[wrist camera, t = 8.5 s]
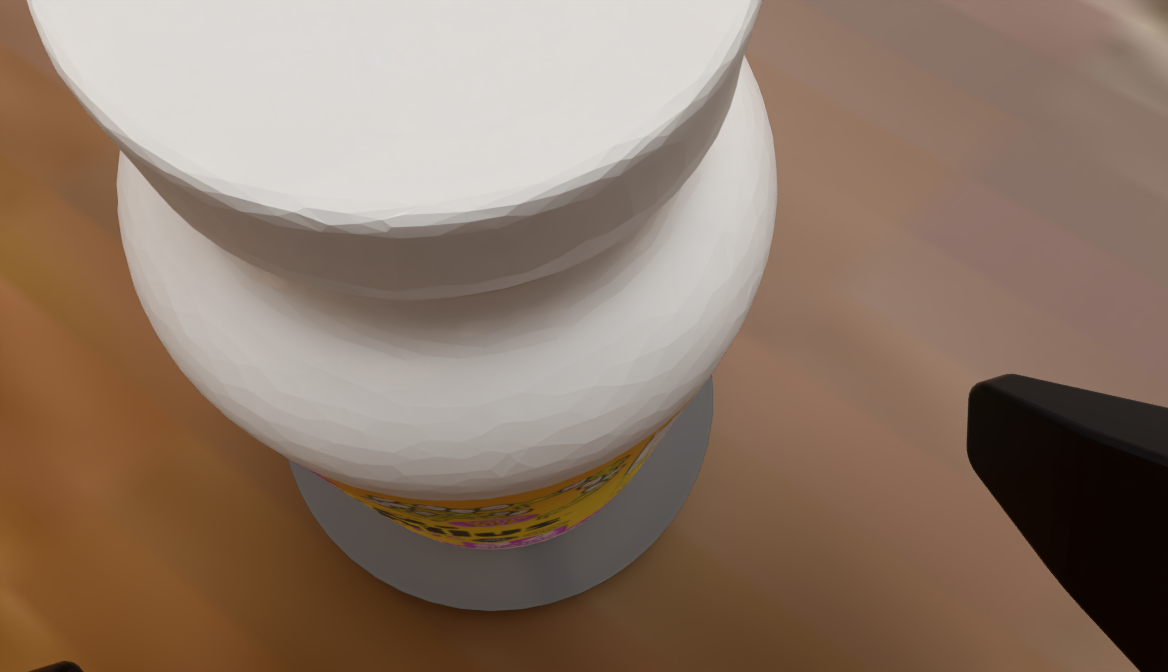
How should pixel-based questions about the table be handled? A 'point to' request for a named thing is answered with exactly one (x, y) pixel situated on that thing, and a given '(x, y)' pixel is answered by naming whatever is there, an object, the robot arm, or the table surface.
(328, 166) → the supplement bottle
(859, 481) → the table surface
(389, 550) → the puck
